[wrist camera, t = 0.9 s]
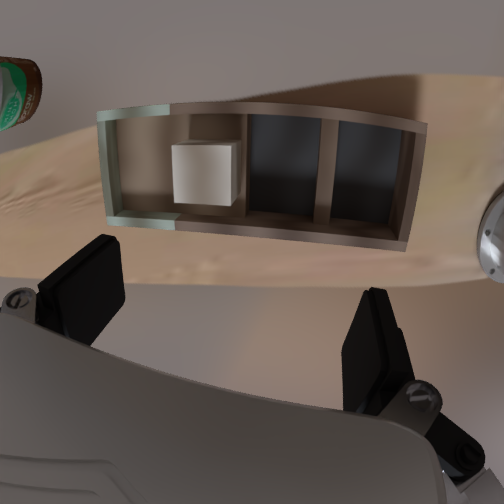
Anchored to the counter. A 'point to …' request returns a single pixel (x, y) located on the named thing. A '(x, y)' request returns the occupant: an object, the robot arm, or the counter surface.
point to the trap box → (269, 171)
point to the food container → (18, 90)
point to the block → (206, 171)
